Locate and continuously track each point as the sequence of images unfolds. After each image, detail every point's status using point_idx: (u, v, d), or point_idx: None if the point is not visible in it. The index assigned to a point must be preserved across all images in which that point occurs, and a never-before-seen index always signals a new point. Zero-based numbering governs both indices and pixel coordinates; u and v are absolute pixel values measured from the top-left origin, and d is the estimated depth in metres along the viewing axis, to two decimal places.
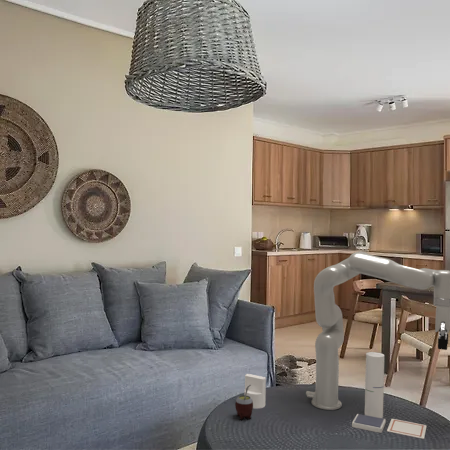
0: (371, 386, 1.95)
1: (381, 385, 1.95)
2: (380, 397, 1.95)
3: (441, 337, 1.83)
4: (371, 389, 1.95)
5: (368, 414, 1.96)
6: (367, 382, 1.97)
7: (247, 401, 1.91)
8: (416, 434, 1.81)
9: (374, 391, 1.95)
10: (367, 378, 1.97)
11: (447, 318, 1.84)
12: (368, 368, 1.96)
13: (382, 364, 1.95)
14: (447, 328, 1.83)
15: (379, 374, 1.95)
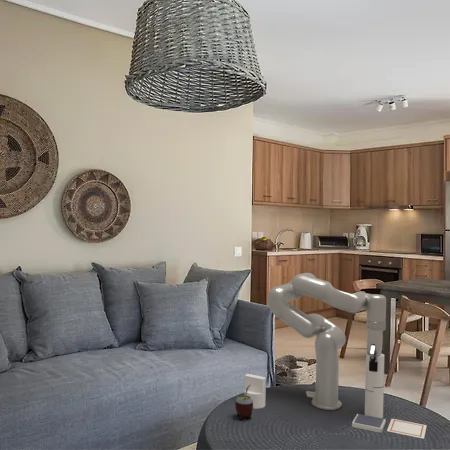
0: (371, 386, 1.95)
1: (381, 385, 1.95)
2: (380, 397, 1.95)
3: (371, 360, 1.93)
4: (371, 389, 1.95)
5: (368, 414, 1.96)
6: (367, 382, 1.97)
7: (247, 401, 1.91)
8: (416, 434, 1.81)
9: (374, 391, 1.95)
10: (367, 378, 1.97)
11: (377, 340, 1.93)
12: (368, 368, 1.96)
13: (382, 364, 1.95)
14: (377, 350, 1.93)
15: (379, 374, 1.95)
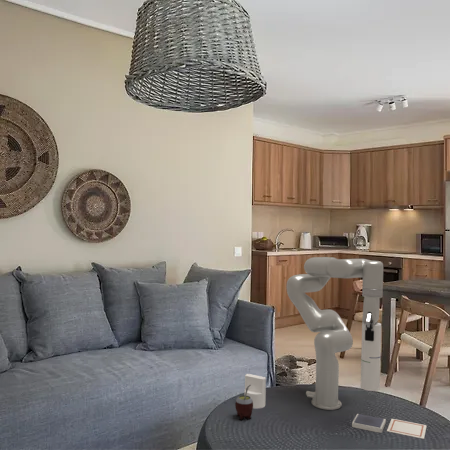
0: (367, 356, 1.86)
1: (378, 355, 1.86)
2: (377, 368, 1.85)
3: (367, 328, 1.84)
4: (367, 359, 1.86)
5: (364, 386, 1.87)
6: (363, 352, 1.87)
7: (247, 401, 1.91)
8: (416, 434, 1.81)
9: (370, 361, 1.85)
10: (363, 348, 1.87)
11: (373, 308, 1.84)
12: (364, 338, 1.87)
13: (379, 333, 1.86)
14: (373, 318, 1.83)
15: (376, 344, 1.85)
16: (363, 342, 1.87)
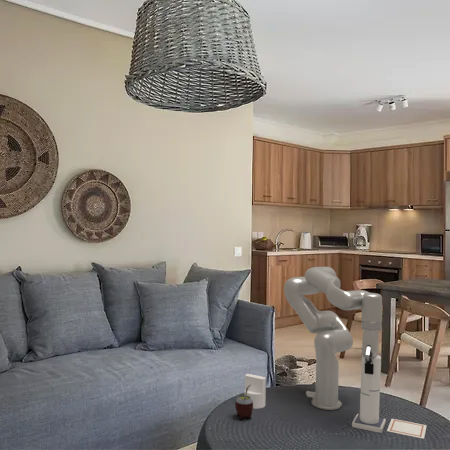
0: (367, 389, 1.86)
1: (377, 388, 1.86)
2: (376, 401, 1.86)
3: (367, 362, 1.84)
4: (367, 392, 1.86)
5: (363, 418, 1.87)
6: (363, 385, 1.87)
7: (247, 401, 1.91)
8: (416, 434, 1.81)
9: (370, 395, 1.85)
10: (363, 381, 1.87)
11: (373, 341, 1.84)
12: (364, 370, 1.87)
13: (378, 366, 1.86)
14: (373, 352, 1.83)
15: (375, 377, 1.85)
16: (363, 375, 1.87)
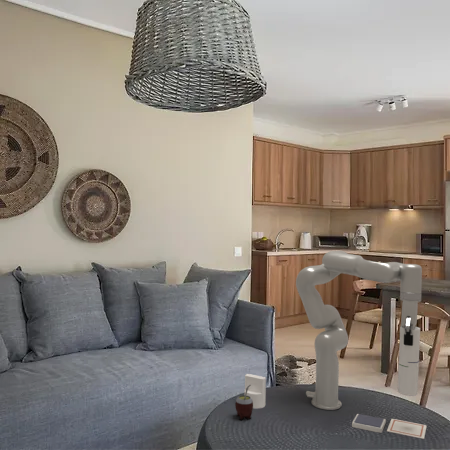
0: (406, 361, 1.83)
1: (416, 360, 1.83)
2: (415, 373, 1.83)
3: (407, 333, 1.81)
4: (406, 364, 1.83)
5: (402, 391, 1.84)
6: (401, 357, 1.85)
7: (247, 401, 1.91)
8: (416, 434, 1.81)
9: (409, 366, 1.83)
10: (401, 352, 1.85)
11: (413, 312, 1.81)
12: (403, 342, 1.84)
13: (418, 338, 1.83)
14: (413, 323, 1.81)
15: (415, 349, 1.83)
16: (401, 346, 1.85)
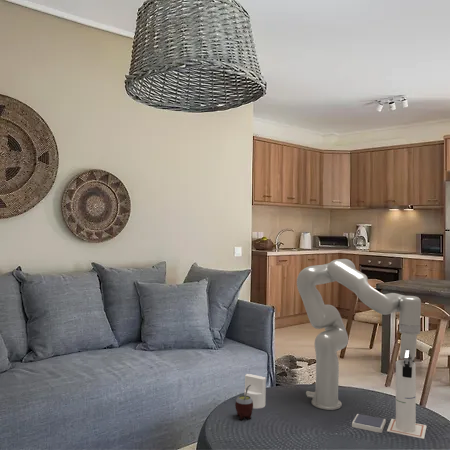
0: (403, 397, 1.83)
1: (413, 395, 1.83)
2: (413, 408, 1.83)
3: (405, 365, 1.81)
4: (403, 400, 1.83)
5: (400, 426, 1.84)
6: (398, 392, 1.85)
7: (247, 401, 1.91)
8: (416, 434, 1.81)
9: (406, 402, 1.83)
10: (398, 388, 1.85)
11: (412, 345, 1.81)
12: (399, 377, 1.84)
13: (414, 373, 1.83)
14: (411, 355, 1.81)
15: (411, 384, 1.83)
16: (398, 382, 1.85)
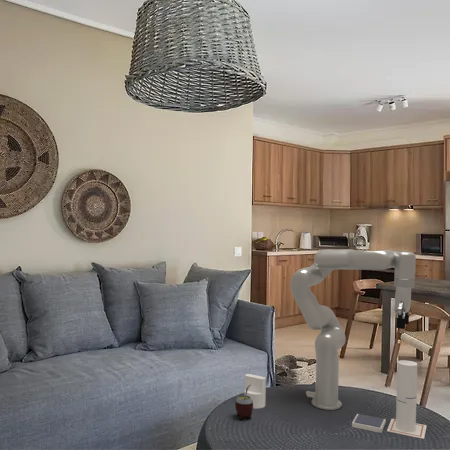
0: (403, 397, 1.83)
1: (414, 396, 1.83)
2: (413, 409, 1.83)
3: (399, 316, 1.87)
4: (403, 400, 1.83)
5: (400, 426, 1.84)
6: (399, 392, 1.85)
7: (247, 401, 1.91)
8: (416, 434, 1.81)
9: (407, 402, 1.83)
10: (399, 388, 1.85)
11: (405, 298, 1.87)
12: (400, 377, 1.85)
13: (415, 373, 1.84)
14: (405, 308, 1.87)
15: (412, 384, 1.83)
16: (399, 382, 1.85)
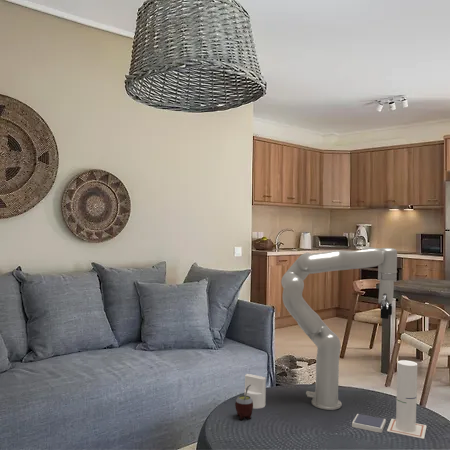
0: (404, 397, 1.83)
1: (414, 396, 1.83)
2: (413, 409, 1.83)
3: (383, 307, 2.04)
4: (404, 400, 1.83)
5: (400, 426, 1.84)
6: (399, 392, 1.85)
7: (247, 401, 1.91)
8: (416, 434, 1.81)
9: (407, 402, 1.83)
10: (399, 388, 1.85)
11: (388, 290, 2.05)
12: (400, 377, 1.84)
13: (415, 373, 1.83)
14: (388, 299, 2.04)
15: (412, 384, 1.83)
16: (399, 382, 1.85)
